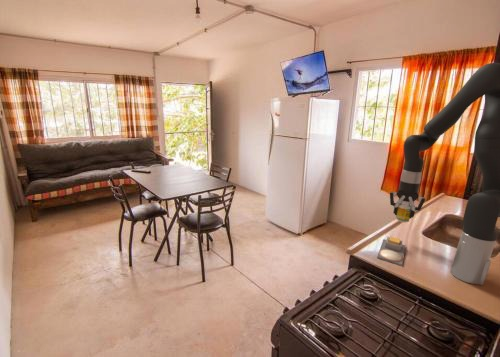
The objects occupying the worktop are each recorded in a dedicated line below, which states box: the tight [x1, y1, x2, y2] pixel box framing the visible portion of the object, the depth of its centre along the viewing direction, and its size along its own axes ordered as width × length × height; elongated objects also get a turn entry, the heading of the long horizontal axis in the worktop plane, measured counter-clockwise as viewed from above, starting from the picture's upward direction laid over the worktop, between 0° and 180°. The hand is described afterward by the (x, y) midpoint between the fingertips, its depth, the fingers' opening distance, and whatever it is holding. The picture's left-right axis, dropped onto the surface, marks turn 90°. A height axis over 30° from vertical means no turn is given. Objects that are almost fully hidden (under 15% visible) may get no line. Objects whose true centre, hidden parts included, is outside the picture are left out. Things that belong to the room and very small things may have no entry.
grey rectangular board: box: [376, 236, 406, 267], centre depth 110 cm, size 9×18×3 cm, turn 146°
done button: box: [389, 236, 401, 245], centre depth 113 cm, size 4×4×2 cm
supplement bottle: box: [395, 201, 412, 223], centre depth 117 cm, size 5×5×10 cm
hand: (403, 216), depth 118 cm, fingers closed on supplement bottle, 5 cm apart
